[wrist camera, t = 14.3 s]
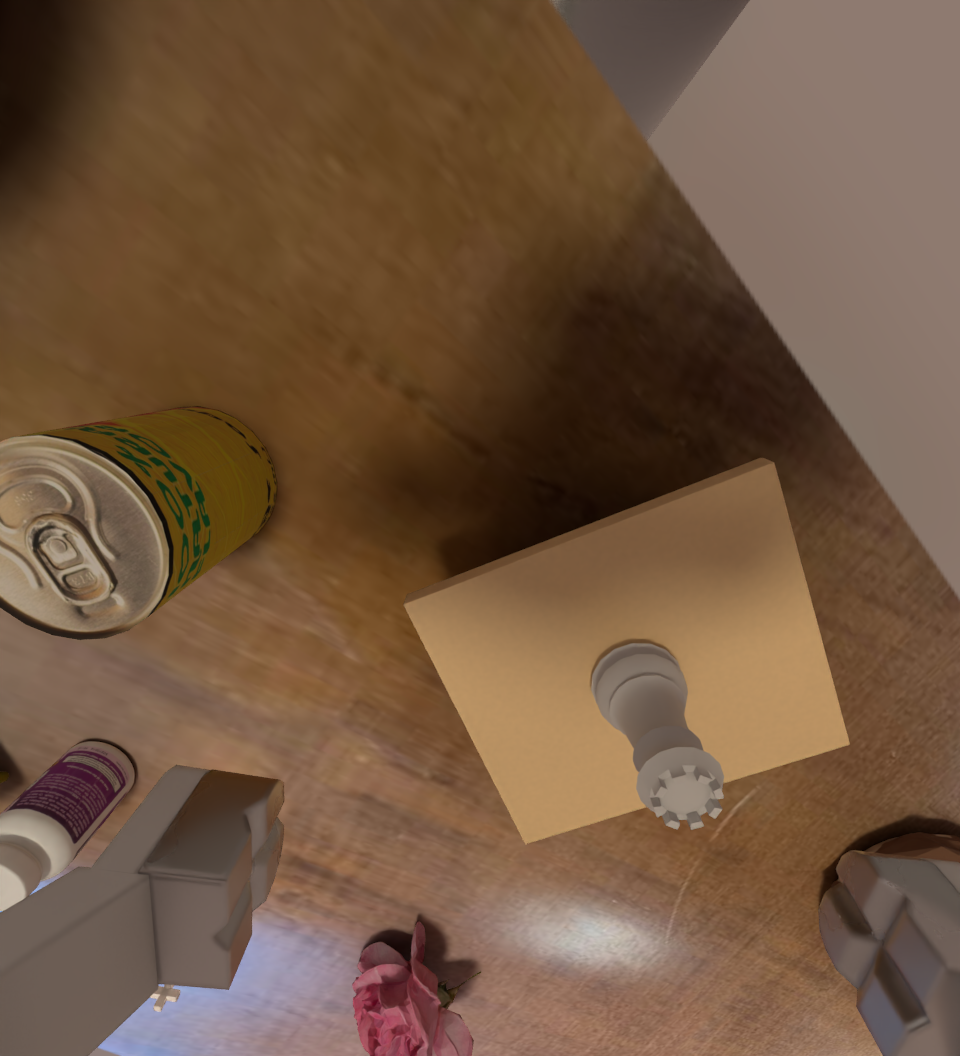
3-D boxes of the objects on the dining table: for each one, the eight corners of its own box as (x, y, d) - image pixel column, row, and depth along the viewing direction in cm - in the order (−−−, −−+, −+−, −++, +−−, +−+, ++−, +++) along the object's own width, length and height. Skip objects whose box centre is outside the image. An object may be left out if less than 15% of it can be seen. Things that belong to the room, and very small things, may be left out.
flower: (362, 944, 51) (291, 1007, 42) (443, 886, 50) (389, 938, 40) (424, 1083, 47) (361, 1188, 37) (515, 1024, 45) (473, 1117, 36)
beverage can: (222, 379, 32) (75, 394, 21) (304, 511, 35) (212, 588, 23) (103, 447, 34) (-97, 496, 22) (189, 569, 36) (48, 669, 25)
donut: (983, 942, 45) (1042, 1012, 40) (810, 953, 45) (848, 1023, 41) (1013, 802, 40) (1082, 862, 36) (821, 817, 41) (865, 878, 36)
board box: (699, 432, 33) (774, 461, 24) (766, 652, 37) (850, 744, 28) (425, 541, 35) (402, 604, 26) (518, 735, 40) (525, 844, 31)
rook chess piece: (682, 708, 28) (754, 842, 20) (595, 721, 28) (632, 857, 21) (675, 631, 27) (749, 742, 19) (583, 645, 27) (619, 760, 19)
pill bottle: (63, 733, 40) (-64, 846, 31) (135, 742, 41) (30, 857, 31) (69, 792, 42) (-49, 915, 33) (139, 800, 42) (41, 925, 33)
